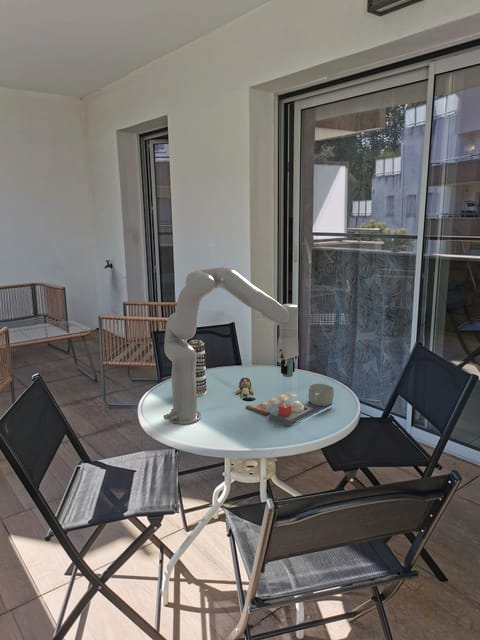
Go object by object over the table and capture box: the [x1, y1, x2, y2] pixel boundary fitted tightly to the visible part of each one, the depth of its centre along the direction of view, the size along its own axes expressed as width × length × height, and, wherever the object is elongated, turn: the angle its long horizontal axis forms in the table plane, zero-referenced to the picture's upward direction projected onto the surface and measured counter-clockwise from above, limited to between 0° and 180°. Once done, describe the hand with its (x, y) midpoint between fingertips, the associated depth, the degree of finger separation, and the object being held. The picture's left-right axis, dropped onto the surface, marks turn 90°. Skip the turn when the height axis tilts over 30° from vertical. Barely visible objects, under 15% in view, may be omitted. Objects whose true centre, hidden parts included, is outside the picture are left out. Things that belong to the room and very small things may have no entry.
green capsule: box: [282, 358, 294, 378], centre depth 211 cm, size 4×4×9 cm
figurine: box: [235, 377, 254, 399], centre depth 218 cm, size 8×6×15 cm
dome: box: [289, 400, 304, 413], centre depth 195 cm, size 6×6×5 cm
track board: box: [245, 391, 298, 416], centre depth 207 cm, size 25×12×1 cm, turn 136°
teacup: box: [308, 383, 335, 407], centre depth 203 cm, size 14×11×8 cm
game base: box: [268, 403, 315, 427], centre depth 193 cm, size 16×10×6 cm, turn 136°
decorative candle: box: [187, 339, 208, 397], centre depth 219 cm, size 9×9×25 cm
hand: (287, 372), depth 211 cm, fingers closed on green capsule, 4 cm apart
